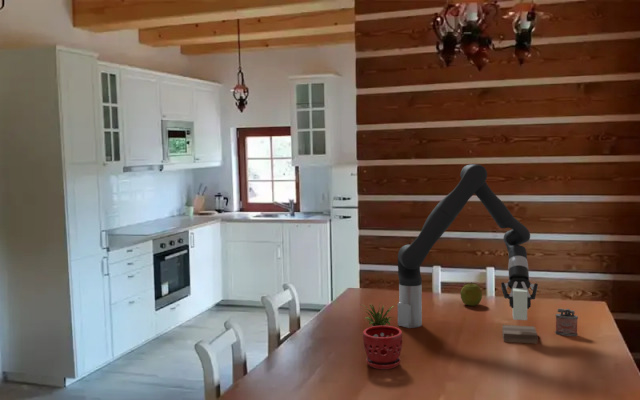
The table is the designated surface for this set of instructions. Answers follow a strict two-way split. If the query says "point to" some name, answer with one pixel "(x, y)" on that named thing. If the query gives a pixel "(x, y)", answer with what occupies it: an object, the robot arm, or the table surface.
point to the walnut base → (519, 334)
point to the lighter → (566, 323)
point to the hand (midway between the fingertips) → (520, 307)
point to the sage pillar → (519, 304)
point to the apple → (471, 294)
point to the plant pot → (383, 346)
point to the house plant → (378, 317)
